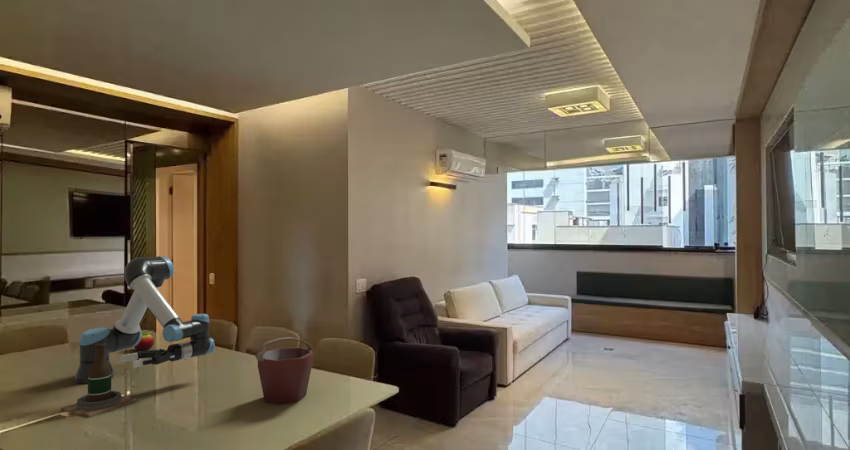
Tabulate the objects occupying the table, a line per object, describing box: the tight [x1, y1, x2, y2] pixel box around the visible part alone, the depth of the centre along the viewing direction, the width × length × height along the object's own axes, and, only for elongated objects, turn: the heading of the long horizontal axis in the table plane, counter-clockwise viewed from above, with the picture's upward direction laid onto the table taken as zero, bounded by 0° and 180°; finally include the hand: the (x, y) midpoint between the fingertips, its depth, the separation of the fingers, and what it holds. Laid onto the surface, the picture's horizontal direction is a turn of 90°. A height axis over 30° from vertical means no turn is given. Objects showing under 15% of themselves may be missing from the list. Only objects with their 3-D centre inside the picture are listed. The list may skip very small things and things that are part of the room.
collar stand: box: [60, 390, 137, 418], centre depth 185 cm, size 18×18×4 cm
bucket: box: [254, 336, 314, 406], centre depth 194 cm, size 24×22×25 cm
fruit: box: [133, 331, 155, 351], centre depth 277 cm, size 11×11×10 cm
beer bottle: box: [87, 343, 112, 402], centre depth 185 cm, size 8×8×24 cm
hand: (126, 361), depth 193 cm, fingers open, 13 cm apart
